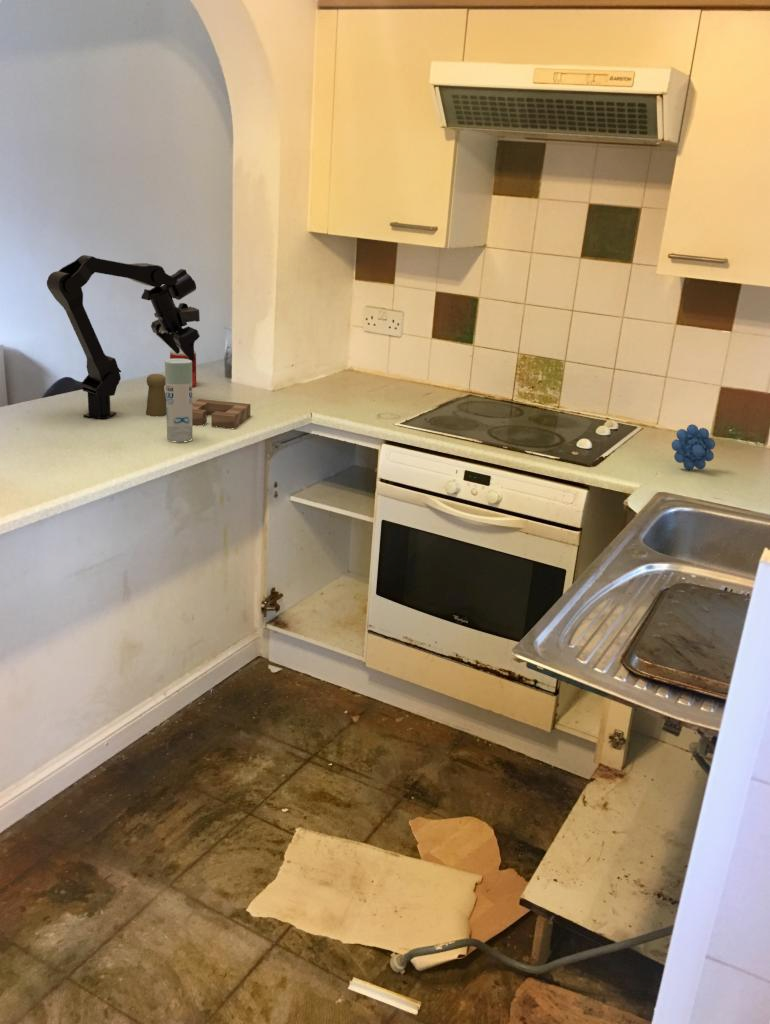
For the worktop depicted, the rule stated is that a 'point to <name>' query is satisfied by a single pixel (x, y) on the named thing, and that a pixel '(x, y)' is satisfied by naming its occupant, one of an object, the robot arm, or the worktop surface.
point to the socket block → (220, 413)
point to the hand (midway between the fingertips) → (185, 356)
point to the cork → (156, 395)
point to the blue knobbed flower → (693, 447)
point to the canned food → (183, 356)
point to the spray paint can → (178, 399)
